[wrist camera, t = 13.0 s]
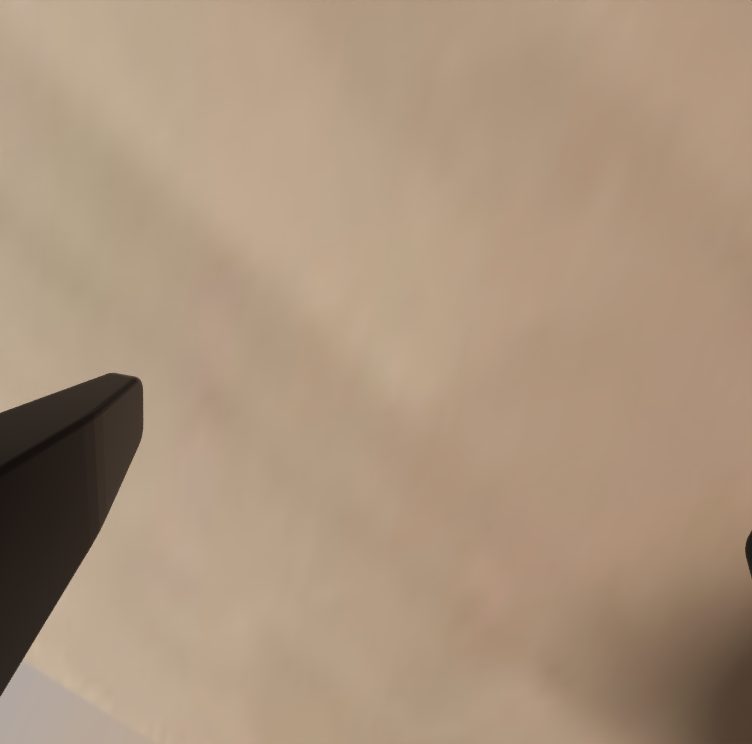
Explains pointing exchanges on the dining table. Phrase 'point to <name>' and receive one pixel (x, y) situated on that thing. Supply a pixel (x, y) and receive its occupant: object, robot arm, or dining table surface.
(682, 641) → the dining table surface
